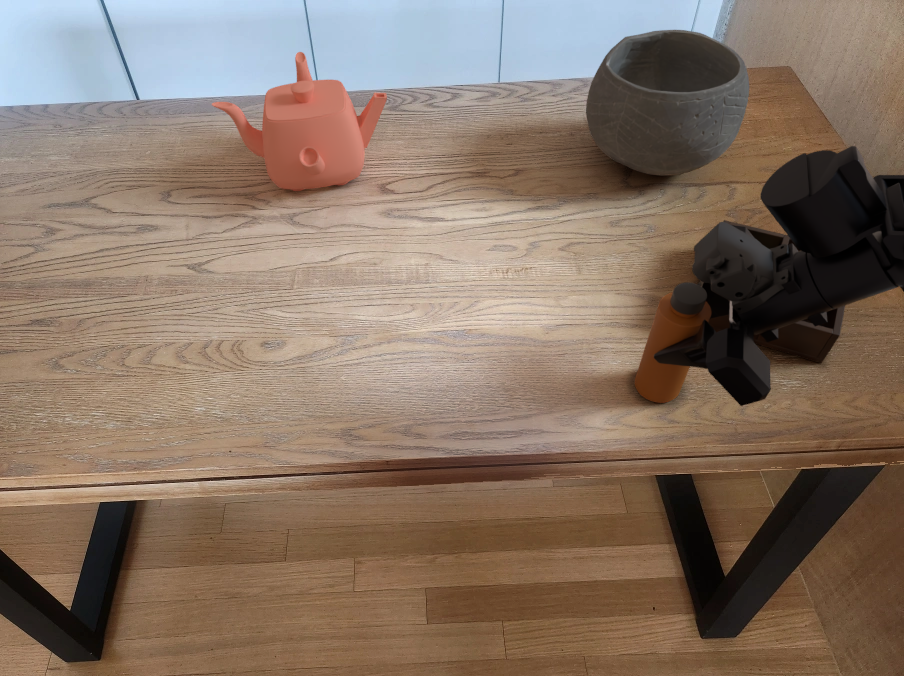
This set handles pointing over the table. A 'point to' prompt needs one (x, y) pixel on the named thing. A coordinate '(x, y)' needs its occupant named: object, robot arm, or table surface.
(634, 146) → the bowl
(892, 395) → the table surface
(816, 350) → the rack
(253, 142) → the teapot
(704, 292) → the amber bottle
